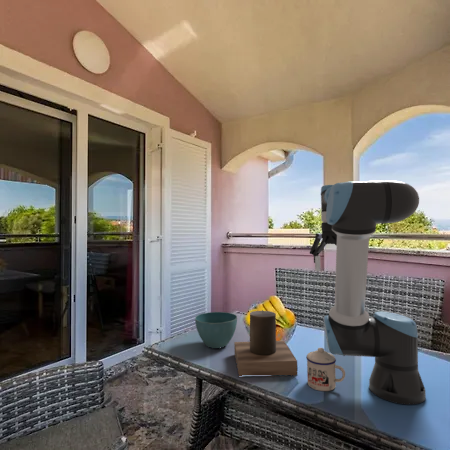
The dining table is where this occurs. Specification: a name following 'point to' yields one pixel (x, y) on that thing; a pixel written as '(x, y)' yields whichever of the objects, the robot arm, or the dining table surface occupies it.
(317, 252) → the robot arm
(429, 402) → the dining table surface
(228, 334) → the plant pot
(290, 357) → the block
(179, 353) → the dining table surface
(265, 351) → the pillar candle
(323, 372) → the teacup with lid
